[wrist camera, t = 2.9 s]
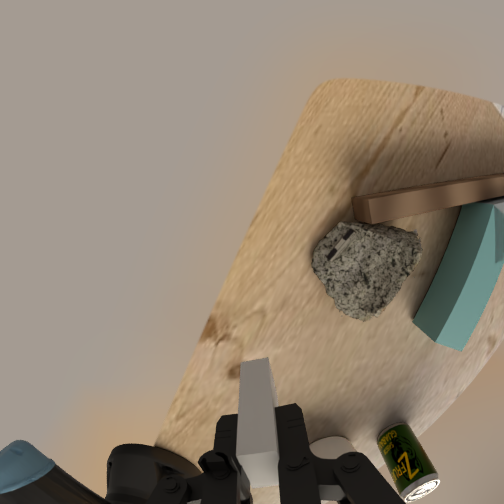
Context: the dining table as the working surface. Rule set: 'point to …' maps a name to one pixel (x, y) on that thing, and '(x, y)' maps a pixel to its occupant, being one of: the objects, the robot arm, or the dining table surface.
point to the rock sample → (365, 265)
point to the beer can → (407, 462)
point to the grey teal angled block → (465, 275)
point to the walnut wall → (426, 198)
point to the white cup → (331, 447)
